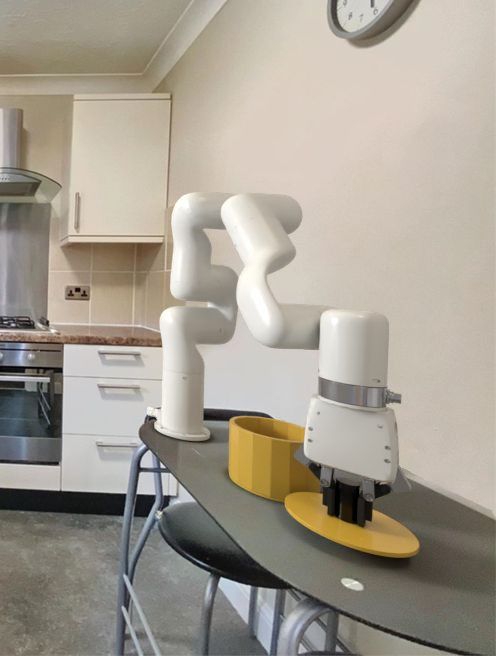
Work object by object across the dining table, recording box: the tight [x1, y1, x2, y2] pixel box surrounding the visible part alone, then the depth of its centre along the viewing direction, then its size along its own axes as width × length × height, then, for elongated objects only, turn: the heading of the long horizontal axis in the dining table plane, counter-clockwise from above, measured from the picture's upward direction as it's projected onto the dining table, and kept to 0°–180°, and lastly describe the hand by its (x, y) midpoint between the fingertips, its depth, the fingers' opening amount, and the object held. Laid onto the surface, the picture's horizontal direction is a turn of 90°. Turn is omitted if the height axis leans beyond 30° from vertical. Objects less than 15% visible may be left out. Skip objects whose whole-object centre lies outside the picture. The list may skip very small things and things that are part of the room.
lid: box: [284, 476, 420, 559], centre depth 59 cm, size 15×15×7 cm
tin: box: [227, 415, 321, 504], centre depth 75 cm, size 14×14×10 cm
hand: (346, 516), depth 59 cm, fingers closed on lid, 2 cm apart
